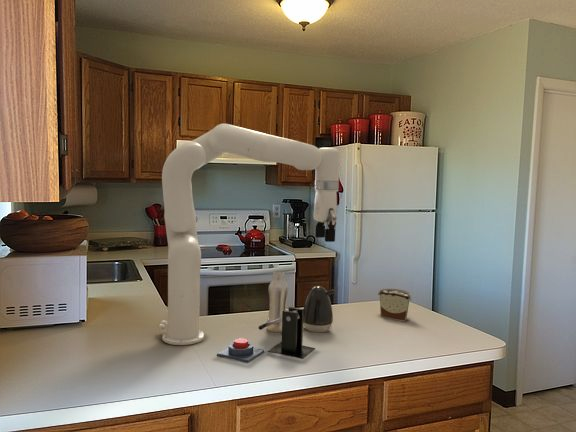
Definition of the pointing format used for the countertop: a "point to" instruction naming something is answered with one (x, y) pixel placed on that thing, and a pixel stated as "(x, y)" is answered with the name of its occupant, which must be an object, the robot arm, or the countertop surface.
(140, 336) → the countertop surface
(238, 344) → the button
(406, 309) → the food container
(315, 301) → the dark grey tapered dome
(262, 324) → the lever
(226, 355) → the button box
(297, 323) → the bracket
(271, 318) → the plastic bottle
